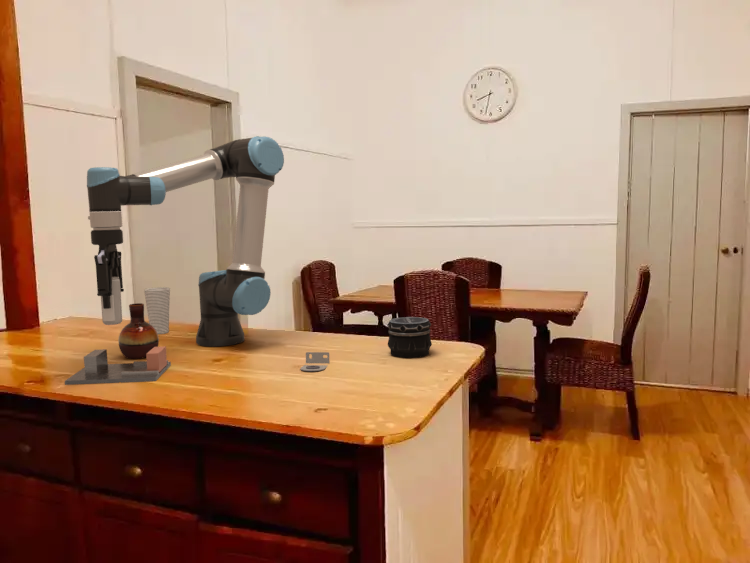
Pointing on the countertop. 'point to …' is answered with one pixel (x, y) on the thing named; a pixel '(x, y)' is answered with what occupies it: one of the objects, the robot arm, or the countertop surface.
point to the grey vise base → (112, 371)
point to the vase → (137, 335)
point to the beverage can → (115, 302)
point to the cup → (158, 308)
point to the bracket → (316, 361)
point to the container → (409, 337)
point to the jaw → (156, 358)
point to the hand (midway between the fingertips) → (112, 318)
